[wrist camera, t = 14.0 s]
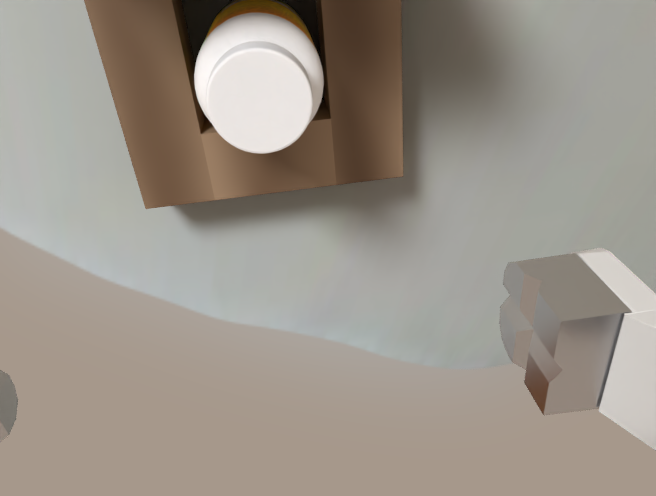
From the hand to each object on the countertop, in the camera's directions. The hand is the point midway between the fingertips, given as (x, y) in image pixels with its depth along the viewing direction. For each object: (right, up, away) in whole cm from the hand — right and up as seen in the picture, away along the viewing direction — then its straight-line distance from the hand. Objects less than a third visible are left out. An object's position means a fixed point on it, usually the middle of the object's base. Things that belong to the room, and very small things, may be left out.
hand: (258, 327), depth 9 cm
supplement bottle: (-2, +12, +20) cm, 23 cm away
